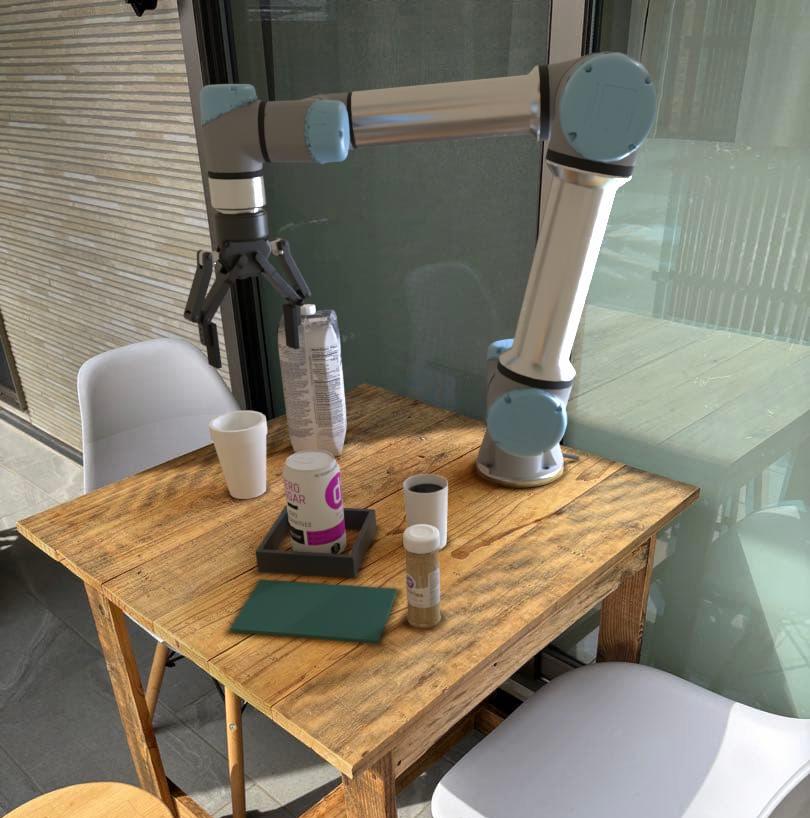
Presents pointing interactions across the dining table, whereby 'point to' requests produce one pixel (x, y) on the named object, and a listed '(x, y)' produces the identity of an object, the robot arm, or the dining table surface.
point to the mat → (316, 611)
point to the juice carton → (314, 383)
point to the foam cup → (241, 451)
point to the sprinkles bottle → (422, 575)
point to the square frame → (317, 562)
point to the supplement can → (314, 502)
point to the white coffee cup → (427, 502)
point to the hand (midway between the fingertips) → (255, 356)
